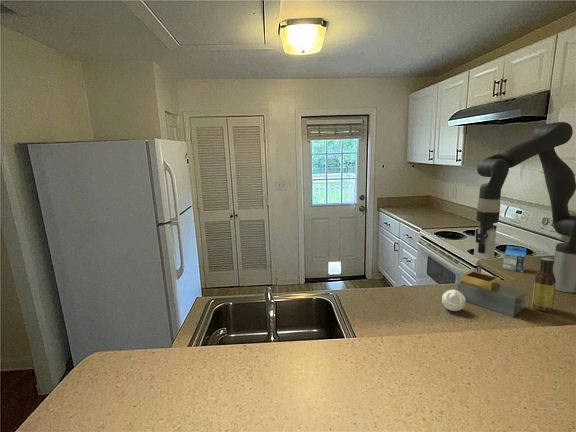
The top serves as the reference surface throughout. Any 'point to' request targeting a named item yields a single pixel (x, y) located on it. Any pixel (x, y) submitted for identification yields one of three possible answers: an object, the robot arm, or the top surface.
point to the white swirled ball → (453, 300)
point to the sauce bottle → (544, 286)
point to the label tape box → (514, 259)
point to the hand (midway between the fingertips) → (483, 251)
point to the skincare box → (486, 246)
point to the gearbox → (491, 293)
